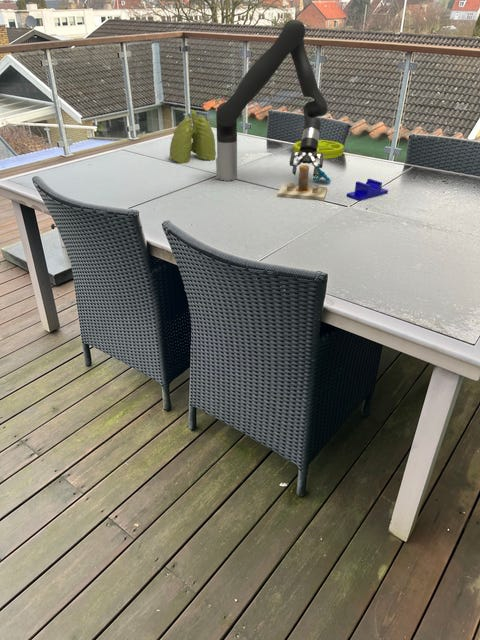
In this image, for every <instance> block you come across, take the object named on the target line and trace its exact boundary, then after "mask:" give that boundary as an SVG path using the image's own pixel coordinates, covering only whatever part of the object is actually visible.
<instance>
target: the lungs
mask: <svg viewBox="0 0 480 640" xmlns="http://www.w3.org/2000/svg"><path fill="white" fill-rule="evenodd" d="M190 114H191V116H186V117H184V119H183V120H182V121H181V122H179V123H178V125H177V126H176V127H175V129H174V131H173V135H172V137H171V142H170V145H169V157H170V158H171V159H172V160H173V161H174V162H176V163H179V164H186V163H189V162H190V161H191V154H192V153H194V154H196V158H199V159H202V160H204V161H206V160H207V161H210V160H212V161H213V160H214V159H215V157H217V151H216V150H217V149H216V139H215V134H214V131H213V129H212V126H211V124H210V122H209V121H208V119H206V118H205V116H204V115H202V114H199V115H198V116H197V111H196V110H195V109H192V110H191V111H190Z"/></svg>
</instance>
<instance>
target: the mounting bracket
mask: <svg viewBox="0 0 480 640" xmlns="http://www.w3.org/2000/svg"><path fill="white" fill-rule="evenodd" d="M382 186H383V182H381V181H379V180H375V179H373V178H367V180H366V182H365V183H364V182H361V181H355V187H354V191H351V192H347V193H346V197H347V198H349V199H352V200H355V201H358V202H361V201H364V200H369V199H372V198H376V197H379V195H380V196H383V195H386V194H388V192H389V190H388V189H386V188H382ZM368 198H369V199H368Z"/></svg>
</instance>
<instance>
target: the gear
mask: <svg viewBox="0 0 480 640" xmlns="http://www.w3.org/2000/svg"><path fill="white" fill-rule="evenodd" d="M322 178H323V179H324V180H325V181H326V182H328V183H331V182H332V180H331V179H330V178H329V177H328V175H326V173H325V172H324V171H323V170H321V168H318V170H317V175H315V177H313V178H312V180H314V183H315V184H316V183H317V182H318V181H319V180H320V179H322Z"/></svg>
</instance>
